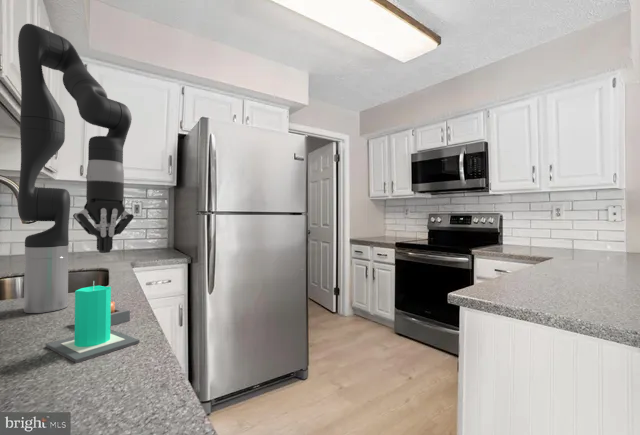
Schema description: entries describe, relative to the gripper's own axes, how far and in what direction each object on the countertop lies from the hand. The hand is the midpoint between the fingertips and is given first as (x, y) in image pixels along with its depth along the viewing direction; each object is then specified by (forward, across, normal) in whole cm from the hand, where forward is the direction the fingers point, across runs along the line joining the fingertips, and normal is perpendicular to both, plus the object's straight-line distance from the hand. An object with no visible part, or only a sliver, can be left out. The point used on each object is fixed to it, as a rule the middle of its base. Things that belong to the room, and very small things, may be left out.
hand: (104, 252), depth 79 cm
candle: (+16, -8, -13) cm, 23 cm away
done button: (+15, 0, 0) cm, 15 cm away
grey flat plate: (+17, -8, -14) cm, 23 cm away
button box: (+17, 0, 0) cm, 17 cm away
